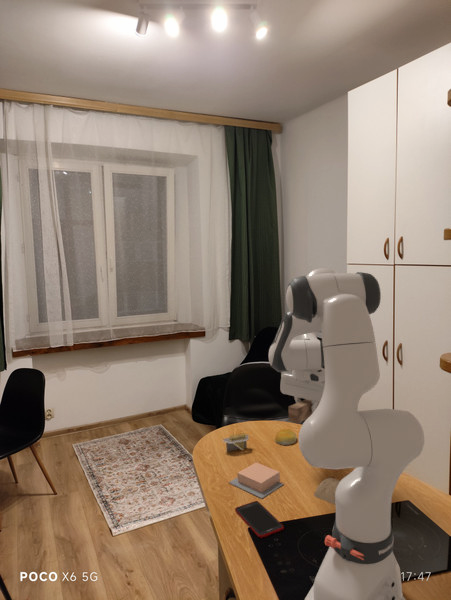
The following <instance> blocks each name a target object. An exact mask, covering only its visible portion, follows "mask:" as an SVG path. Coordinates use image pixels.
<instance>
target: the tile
mask: <svg viewBox="0 0 451 600" xmlns="http://www.w3.org/2000/svg"><path fill="white" fill-rule="evenodd" d="M237 477H238V482H240V483H242V484H244V485H246V486H248V487H250V488H253V489H255V490H257V491H259V492H261V493H262V492H263V491H265V490H266V489H268V488H269V487H271V486H273V485H274V484H276V483H277V482H281V481H280V480H281V477H280V471H278V470H275V469H273V468H271V467H268V466H266V465H263V464H261V463H259V462H254V463H253V464H251V465H249V466H247V467H245V468H244V469H242V470H240V471H238V472H237Z"/></svg>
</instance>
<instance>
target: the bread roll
mask: <svg viewBox="0 0 451 600" xmlns="http://www.w3.org/2000/svg"><path fill="white" fill-rule="evenodd" d="M297 439H298V438H297V435H296V433H295V431H293V430H291V429H290V428H282V429H280V430H278V431H277V432H276V433H275V438H274V441H275V443H276V444H279V445H283V446H289V445H292V444H294V443H295V444H296V442H297Z"/></svg>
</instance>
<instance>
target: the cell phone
mask: <svg viewBox="0 0 451 600" xmlns="http://www.w3.org/2000/svg"><path fill="white" fill-rule="evenodd" d="M234 511H235V513H236V515H238V516H239V517H240V518H241V520H242V521H243V522H244V523H245V524H246V525H247V527H249V528H250V530H251V531H252V532H253V533H254V534H255V536H257V537H258V538H259V537H260V539H263V537H264V538H266V537H269V536H271V534H272V535H273V533H274V534H276V532H277V533H278V532H281V530H282V531H283V530H284V525H283V524H282V522H280V521H279V520H278V519H277V518H276V517H275V516H274V515H273V514H272V513H271V512H270V511H269V510H268V509H267V508H266V507H265V506H264V505H263V504H262V503H260V502H259V501H258V500H255V501H250V502H247V503H245V504H242V505H239V506H237V507H235V508H234Z"/></svg>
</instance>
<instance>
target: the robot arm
mask: <svg viewBox="0 0 451 600" xmlns="http://www.w3.org/2000/svg"><path fill="white" fill-rule="evenodd" d="M381 294H382V293H381V287H380V283H379V282H378V279H377V278H376V277H375V276H374V275H373V274H371V273H368V272H362V271H360V272H359V271H357V272H353V273H351V272H335V270H332V269H330V268H326V267H325V268H324V267H321V268H320V267H318V268H315V269H313V270H311V271H310V272H309V273H308V274H307V275H306V276H305V275H302V276H297V277H294V278H292V279H291V280H290V282H289V283H288V286H287V290H286V293H285V300H286V301H285V302H286V305H287V308H288V311H287V312H285V313H284V315H283V317H282V320H281V322H280V323H279V327H278V329H277V332H276V334H275V337H274V339H273V341H272V343H271V345H270V346H269V349H268V363H269V365H270V367H271V368H272V369H274V370H275V371H276V372H278V373H280V374H281V375H280V377H281V378H280V387H279V388H280V392H281V393H282V395H288V396H292V397H293V398H294V400H295V404H296V403H298V402H300V401H302V400H301V399H303V400H305V399H308V400H312V403H313V405H312V406H311V407H309V409H310V410H309V411H310V412H312V415H311V416H310V417H309V418H308V419H306V420H304V422H303V423H302V424H301V427H300V430H299V433H298V446H299V450H300V452H301V454H302V457H303V458H304V459H305V461H306V462H307V463H308V464H309V465H310V466H311V467H312V468H318V469H319V468H320V469H326V470H328V469H329V470H343V469H345V470H346V469H353V468H354V469H353V470H352V471H351V472H350V473H349V474H347V475H345V476H344V477H343V478H342V479H341V480H340V482H339V484H338V486H337V488H336V492H335V503H336V505H335V520H334V521H333V522H334V523H333V528H332V533H331V534H332V535H331V534H330V535H329V534H328V535H326V536H325V538H324V544H325V546H327V547H328V549H327V552H326V553H325V556H324V558H323V559H322V562H321V564H320V566H319V569H318V572H317V573H316V576H315V578H314V582H313V585H312V586H311V588H310V590H309V591H308V593H307V595H306V596H305V598H304V600H407V599H406V598H405V597H404V596H403V595H404V594H403V586H402V577H401V576H402V575H401V568H400V565H399V563H398V561H397V559H396V556H395V554H394V551H393V550H394V542H395V541H394V539H395V537H394V530H393V528H392V525H391V523H392V522H391V517H392V514H391V513H392V499H393V493H394V489H395V487H396V485H397V483H398V480H399V479H400V477H401V476H402V474H403V472H404V471H405V470H406V468H407V467H408V466H409V465H410V464H411V463H412V462H413V461H414V460H416V459H417V458H418V457H419V456H420V455H421V453H422V452H423V450H424V446H425V434H424V430H423V427H422V425H421V423H420V421H419V420H418V419H417V417H416V416H415V415H414V414H413V413H411V412H410V411H407V410H401V409H391V408H380V409H368V410H366V409H365V410H358V406H359V402H360V400H361V399H362V397H363V396H364V395H365V394H367V393H368V392H369V391H371V390H373V388H375V387H376V385H377V384H378V382H379V380H380V376H381V372H380V363H379V358H378V357H379V356H378V350H377V345H376V344H377V343H376V337H375V331H374V326H373V323H372V319H371V315H372V314H374V313H375V312H376V311H378V310H377V309H379V307H380V305H381V304H380V303H381V297H382V295H381ZM318 332H321V340H320V339H318V337H317V333H318ZM319 402H320V403H319ZM318 403H319V405H318V406H317V404H318ZM316 406H317V408H316Z"/></svg>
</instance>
